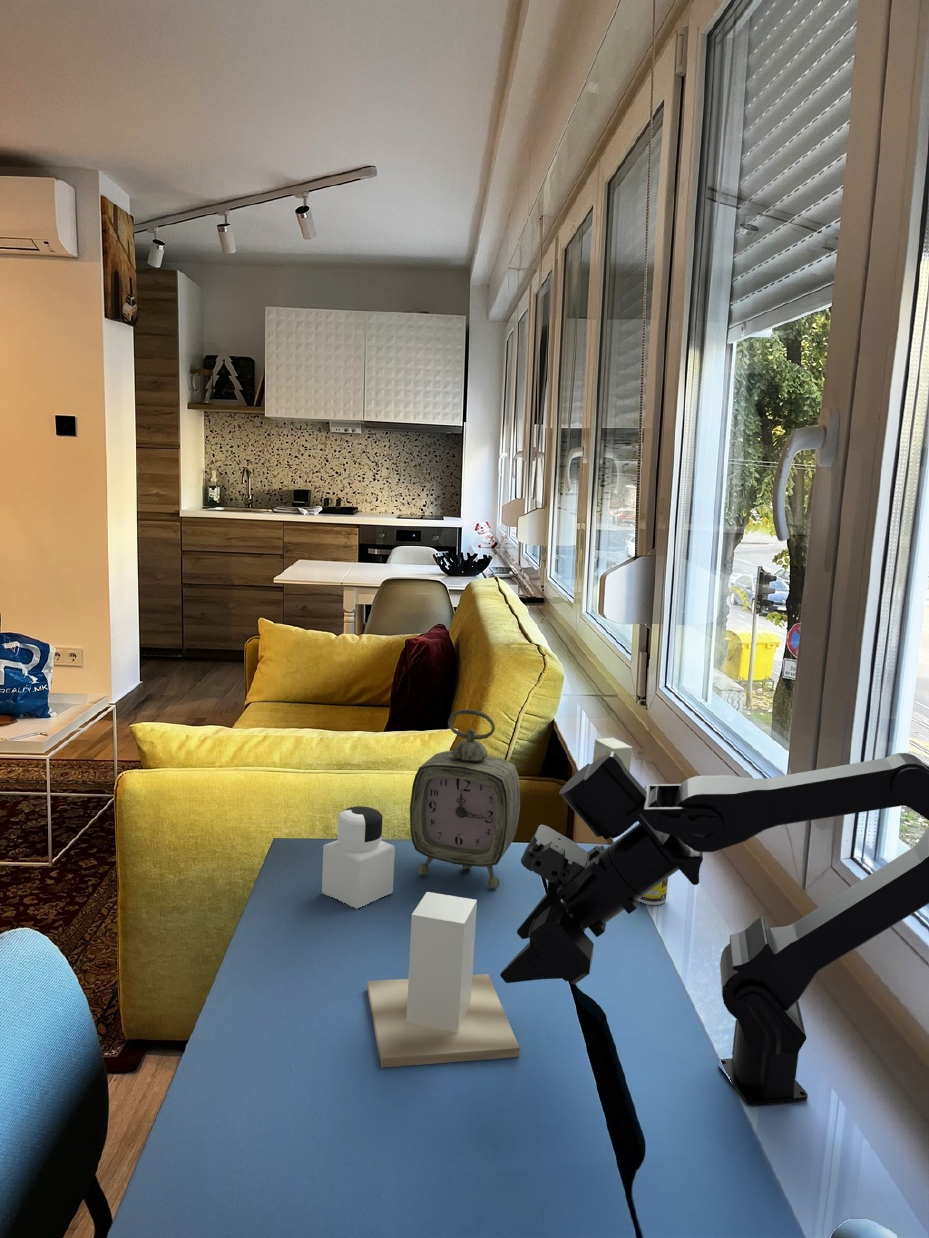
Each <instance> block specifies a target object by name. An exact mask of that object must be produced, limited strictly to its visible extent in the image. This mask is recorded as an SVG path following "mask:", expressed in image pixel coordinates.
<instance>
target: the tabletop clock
mask: <svg viewBox="0 0 929 1238" xmlns="http://www.w3.org/2000/svg"><path fill="white" fill-rule="evenodd" d="M460 715H472V716H473V715H474V716H478V717H482V718H483V719H485V720H487V722H488V723H489V724H490V725H491V730H490V731H489V732H487V733H483V734H475V731H476V730H475V729H474V728H472V727H471V728H468V729H467V732H463V731H461V730H458V729H456V728H455V727H453V725H452V720H453V719H454V718H456V717H457V716H460ZM447 725H448V728H449V729H450V730H451V732H452V733H453V734H455V735H456V736H459V737H461V738H464V739H462V740H460V741H459V742H457V744H455V745H454V747H453V748H452V750H445V751H441V752H438V753H435V754H434V755H432V756H431V758H429V759H427V760H426V761H425V762H424V763H423V764H421V766H419V767H418V769H417V771H416V774H415V776H414V779H413V783H412V787H411V788H412V789H411V795H410V804H409V825H410V826H409V827H410V836H411V841H412V844H413V847H414V851H416V852H418V853H420V854H421V855H423V856H425V857H427V859H426V860H425V863H421V864H419V865H418V866H417V873H418V875H420V874H421V875H420V876H426V875H427V874H428V873H429V869H430V868H429V865H430V864H431V862H432V861H433V860H437V861H441V862H444V863H445V862H446V863H449V864H453V865H458V866H459V865H460V866H462V868H463V870H466V869H469V870H471V869H472V867H478V868H479V867H481V868H484V867H485V868H487V872H488V874H489V878H488V880H487V885H488V888H491V889H496V888H499V886H500V880H499V878H498V876H495V875H494V866H496V865H498V863H499V862H500V861H501V859H502V858H503V856H504V855H505V853H506V852H507V851H508V849H509V848H510V846H511V844H512V843H513V841H514V839H515V836H516V833H517V828H518V824H519V819H520V818H519V817H520V810H521V787H520V786H521V785H520V777H519V773H518V770H517V767H516V765H515V764H514V763H512V762H510V761H509V760H507V759H504V758H502V757H497V756H493V755H488V752H487V749H486V747H485V746H484V745H483V743H482V742H481V741H478V740H483V739H487V738H489V737H491V736H492V735H493V734H494V732H495V730H496V725H495V723H494V721H493V719H492V718H491V717H490V716H489V715H488V714H486V713H485V712H482V711H480V710H476V709H469V708H467V709H460V710H456V711H454V713H452V714H451V715H449V718H448V720H447ZM425 874H426V875H425Z"/></svg>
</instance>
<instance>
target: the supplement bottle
mask: <svg viewBox="0 0 929 1238" xmlns="http://www.w3.org/2000/svg"><path fill="white" fill-rule="evenodd" d="M668 882H669V877H668V878H667V879H665V880H664V881H663V882H661V883H660V884H658V885H657V886H656V887H654V888H653V889H652V890H650V891H649V892H648V893H646V894H645V895H644V896H642V897H641V898H640V899H638V901H639V902H638V903H640V902H642V903H641V904H643V903H644V904H643V905H648V906H659V905H662V904H664V903H665V902H666V899H667V893H668V892H667V890H668Z"/></svg>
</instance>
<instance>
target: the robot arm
mask: <svg viewBox="0 0 929 1238" xmlns="http://www.w3.org/2000/svg"><path fill="white" fill-rule="evenodd" d="M559 790H560V791H559V795H560V796H561V797H562V798H563V800H564V801H565V803H567V804H568V806H569V807H570V808H571V809H572V810H573V811H574V813H575V814H576V815H577V816H578V817H579V819H581V821H582V822H583V823H584V824H585V825H586V827H587V828H588V829H589V830H590V831H591V832H592V833H593V835H594V836H595V837H597V838H600V837H602V838H603V839H604V840H605V841H606V840H608V839H612V840H613V839H616V838H618V837H619V838H618V839H616V840H615V841H614V842H612V843H611V844H610V845H608V846H607V847H606V848H605V846H604V845H602V844H601V845H600V846H599V845H596V846H594V847H592V849H590V850H589V851H587V850H586V849H584V848H582V847H581V846H579V844H577V843H576V842H575V841H573V840H572V839H570V838H568V837H567V836H564V835H563V834H561V833H560V832H558V831H556V830H554V829H553V828H551V827H550V826H548V825H545V824H540V825H538V827H537V829H536V831H535V833H534V834H533V836H532V837H531V839H530V841H529V843H527V846H526V848H525V849H524V853H523V855H522V856H521V858H520V864H521V865H522V866H523V867H524V869H526V870H528V871H530V872H533V873H535V874H536V875H538V876H540V877H542V878H543V879H545V880H546V881H547V891H546V893H545V894H544V895H543V896H542V898H541V899H540V901H539V903H537V905H536V906H534V908H533V910H532V911H531V912H530V913H529V914H528V916H527V917H526V918H525V920H524V921H522V923H521V925H520V926H519V927H518V928H517V930H516V934H517V935H518V936H519V938H520V939H522V940H526V939H529V941H528V943H527V944H525V945H524V947H522V949H521V950H520V951H519V952H518V953H517V954H516V955H515V956H514V957H513V959H511V961H510V962H509V963H507V965H506V966H505V967H504V968H503V970H502V971H501V972H500V978H501V979H502V980H503V981H504V983H506V984H511V983H519V982H520V983H521V982H531V981H537V980H538V981H541V980H558V979H560V980H561V979H563V981H565V982H568V983H570V984H572V985H574V986H575V985H576V984H577V983H579V982H580V981H582V980H583V979H585V978H586V977H587V976H588V975H590V974H591V973H590V972H591V967H592V962H593V957H594V947H595V945H594V944H595V943H594V942H593V940H591V939H590V937H589V936H588V935H587V934H586V933H585V931H586V930H587V929H589V930H590V931H591V932H592V934H594V936H595V937H596V938H598V937H600V936H601V935H602V934H604V933H605V932H606V928H607V927H606V926H607V923H608V922H609V921H611V920H613V918H615V917H616V916H618V915H619V914H620V913H622V912H623V911H624V910H625V912H627V915H630V914H631V913H633V912H634V911H636V910H637V907H638V903H639V902H638V899H640V898H641V897H642V896H644V895H645V894H646V893H648V892H649V891H650V890H652V889H653V888H654V887H656V886H657V885H658V884H660V883H661V882H663V881H664V880H665V879H667V878H668V879H669V877H671V876H672V875H673V874H675V873H676V872H678V871H680V872H681V873H682V874H683V875H684V876H685V877H686V879H688V881H689V882H690V883H691V884H692V885H693V886H697V885H699V884H700V871H701V870H700V868H701V865H702V863H703V860H704V854H703V853H714V852H717V851H720V850H724V849H726V848H730V847H732V846H736V845H739V844H741V843H744V842H747V841H748V840H750V839H752V838H754V837H756V836H757V835H759V834H760V833H762V832H765V831H767V830H768V829H772V828H775V827H779V826H783V825H784V826H785V825H790V824H797V823H802V822H807V821H809V822H810V821H814V820H815V821H816V820H822V819H826V818H827V819H828V818H834V817H840V816H846V815H854V814H859V813H865V812H872V811H877V810H883V809H891V808H896V807H897V808H898V807H901V806H902V807H907V808H909V809H910V810H912V811H914V812H915V813H917V814H919V815H920V816H921V817H923V818H924V819H926V820H927V821H928V822H929V765H927V764H926V763H924V762H923V761H922V760H921V759H919V758H918V757H917V756H915V755H914V754H911V753H907V752H897V753H894V754H891V755H890V756H887V757H883V758H878V759H873V760H865V761H860V762H853V763H847V764H843V765H838V766H833V767H832V766H831V767H825V768H820V769H814V770H809V771H802V772H797V773H792V774H791V773H790V774H785V775H780V776H773V777H767V778H751V777H745V776H744V777H743V776H737V775H729V774H728V775H726V774H725V775H723V774H722V775H720V774H719V775H695V776H692V777H690V778H687V779H686V780H684V781H683V782H682V783H661V784H658V783H655V784H654V783H651V784H650V783H649V784H646V785H645V786H644V787H643V786H642V785H641V784H640V783H639V781H638V780H637V779H636V778H635V777H634V775H633V774H632V773H631V771H630V772H629V771H628V770H627V769H626V767H625V766H624V764H623V762H622V760H621V759H620V758H619V757H618V755H617V754H616V753H615V752H610V753H609V754H608V755H606V756H605V757H603V758H600V759H598V760H596V761H594V762H593V761H592V763H589V762H588V763H587V764H586V765H584V766H583V767H582V768H581V769H579V770H578V771H577V772H576V773H575V774H573V776H572V777H571V778H570V779H568V781H567V782H566V783H565V784H564V785H563V786H562V788H561V789H559ZM637 822H638V824H636V823H637ZM635 824H636V825H635ZM633 825H635V826H633ZM632 826H633V827H632ZM631 827H632V828H631ZM630 828H631V829H630ZM629 829H630V830H629ZM621 835H622V836H621ZM928 905H929V826H928V827H927V828H926V830H925V831H924V833H923V834H922V836H921V837H920V838H919V840H918V842H916V844H915V845H913V847H911V848H909V849H908V850H907V851H905V852H903V853H902V854H900V855H899V856H897V857H895V858H894V859H893V860H892V859H891V861H889V862H888V863H885V865H883V866H882V867H880V868H878V869H877V870H875V871H874V872H872V873H870V874H868V875H867V876H866V877H864V878H862V879H861V880H859V881H858V882H857V883H855V884H853V885H851V886H850V887H848V888H847V889H845V890H844V891H842V892H840V893H839V894H837V895H836V896H834V897H833V898H831V899H829V900H828V901H826V902H824V903H823V904H822V905H820V906H818V907H817V908H815V909H814V910H813V911H811V912H809V913H807V914H805V915H804V916H802V917H801V918H799V919H798V920H797V921H795V922H793V923H791V924H788V925H785V926H776V927H770V926H769V925H768V923H767V921H766V920H765V918H764V917H763V916H760V917H759V918H758V919H756V920H754V921H753V922H752V923H751V924H749V926H748V927H747V928H745V929H743V930H742V931H740V932H737V933H732V934H729V936H728V937H729V944H727V945H726V946H725V947H724V949H723V950H722V952H721V956H720V962H719V969H720V970H719V972H720V984H721V997H722V1000H723V1005H724V1006H725V1008H726V1009H727V1011H728V1013H729V1014H730V1015H731V1016H732V1017H734V1018H735V1019H736V1020H735V1026H734V1034H733V1043H732V1050H731V1051H732V1052H731V1055H732V1058H721V1059H719V1060H721V1062H722V1065H723V1067H724V1069H725V1071H726V1073H727V1074H728V1076H729V1077H730V1080H731V1082H732V1084H733V1085H732V1084H731V1085H732V1087H733V1088H734V1089H735V1091H736V1093H737V1094H738V1095H739V1096H740V1098H741V1099H742V1101H743V1102H744V1103H745V1104H746V1105H748V1106H750V1107H751V1106H753V1107H754V1106H763V1105H775V1104H784V1103H785V1104H786V1103H787V1104H788V1103H796V1102H797V1103H798V1102H804V1101H807V1100H808V1097H809V1095H808V1092H807V1091H806V1090H805V1089H804V1088H803V1087H802V1085H801V1084H800V1083H799V1082H798V1080H796V1078H797V1069H798V1062H799V1052H800V1050H801V1049H802V1047H803V1045H804V1044H805V1042H806V1040H807V1033H806V1028H805V1025H804V1021H803V1020H804V1019H803V1016H802V1011H801V1007H800V1002H799V1001H800V999H801V997H802V996H803V994H804V993H805V991H807V989H808V987H809V985H810V984H811V983H812V981H813V980H814V979H815V976H816V975H818V973H819V972H821V970H823V969H825V968H826V967H828V966H830V965H831V964H833V963H834V962H836V961H838V960H840V959H841V958H843V957H844V956H846V955H847V954H850V953H851V952H853V951H854V950H856V949H858V948H859V947H860V946H863V945H864V944H865V943H867V942H869V941H871V940H872V939H873V938H875V937H878V935H880V934H882V933H883V932H885V931H887V930H889V929H890V928H891V927H893V926H895V925H896V924H898V923H900V922H901V921H903V920H905V919H906V918H908V917H910V916H911V915H913V914H914V913H916V912H918V911H919V910H921V909H923V908H924V907H926V906H928Z"/></svg>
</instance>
